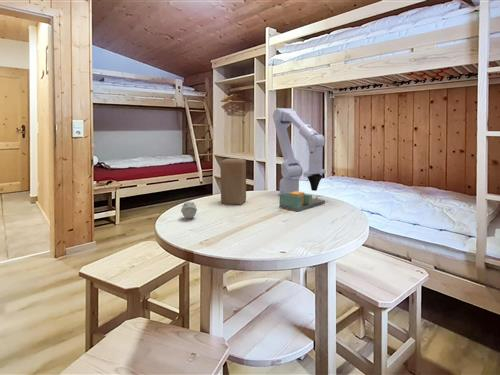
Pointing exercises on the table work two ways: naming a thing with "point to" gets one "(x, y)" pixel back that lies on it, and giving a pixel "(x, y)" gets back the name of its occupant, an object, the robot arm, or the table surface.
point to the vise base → (305, 206)
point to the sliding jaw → (309, 199)
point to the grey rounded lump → (189, 209)
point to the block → (233, 181)
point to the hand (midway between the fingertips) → (314, 190)
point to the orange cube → (298, 195)
